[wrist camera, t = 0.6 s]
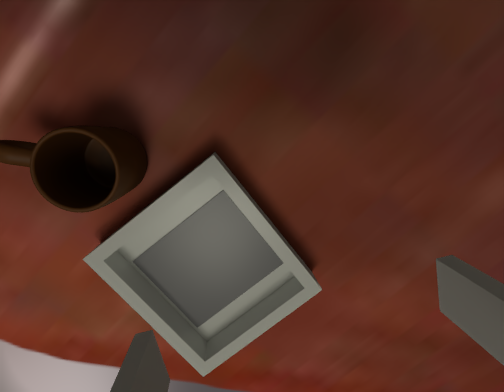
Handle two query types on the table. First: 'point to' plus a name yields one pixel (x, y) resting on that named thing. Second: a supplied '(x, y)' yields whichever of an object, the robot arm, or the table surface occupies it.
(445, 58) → the table surface
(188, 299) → the tray
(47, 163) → the mug
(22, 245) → the table surface
